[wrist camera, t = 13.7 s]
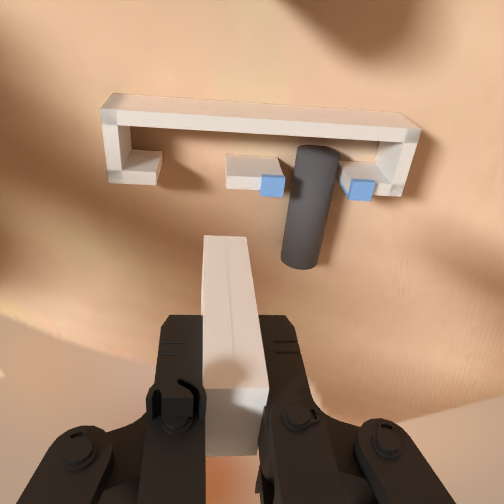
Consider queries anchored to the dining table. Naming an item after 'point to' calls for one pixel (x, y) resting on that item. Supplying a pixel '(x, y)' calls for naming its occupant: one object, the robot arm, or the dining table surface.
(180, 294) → the dining table surface
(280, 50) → the dining table surface
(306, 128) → the white u-shaped bracket
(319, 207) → the dark gray cylinder
